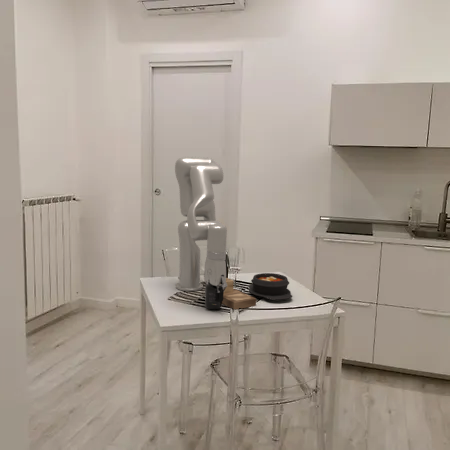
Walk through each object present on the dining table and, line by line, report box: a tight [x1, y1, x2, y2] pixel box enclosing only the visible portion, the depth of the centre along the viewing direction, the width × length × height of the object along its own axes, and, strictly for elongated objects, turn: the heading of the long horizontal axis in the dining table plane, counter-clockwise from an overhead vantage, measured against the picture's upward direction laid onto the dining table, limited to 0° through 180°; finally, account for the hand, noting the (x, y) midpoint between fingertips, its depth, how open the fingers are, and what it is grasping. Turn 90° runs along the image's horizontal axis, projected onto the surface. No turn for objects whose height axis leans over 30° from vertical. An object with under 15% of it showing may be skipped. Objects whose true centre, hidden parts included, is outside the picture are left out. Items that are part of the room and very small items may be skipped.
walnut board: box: [222, 288, 257, 310], centre depth 198 cm, size 18×11×3 cm, turn 33°
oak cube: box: [219, 277, 235, 293], centre depth 203 cm, size 5×5×5 cm
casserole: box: [248, 272, 293, 301], centre depth 209 cm, size 25×19×8 cm
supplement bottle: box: [204, 280, 223, 310], centre depth 188 cm, size 7×7×12 cm
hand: (214, 298), depth 188 cm, fingers closed on supplement bottle, 6 cm apart
